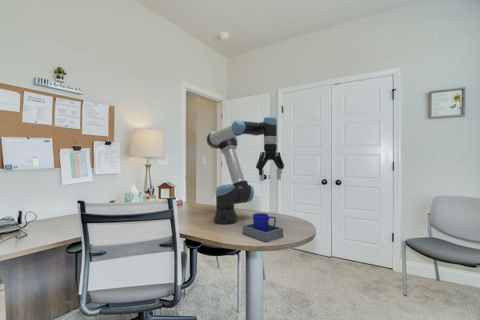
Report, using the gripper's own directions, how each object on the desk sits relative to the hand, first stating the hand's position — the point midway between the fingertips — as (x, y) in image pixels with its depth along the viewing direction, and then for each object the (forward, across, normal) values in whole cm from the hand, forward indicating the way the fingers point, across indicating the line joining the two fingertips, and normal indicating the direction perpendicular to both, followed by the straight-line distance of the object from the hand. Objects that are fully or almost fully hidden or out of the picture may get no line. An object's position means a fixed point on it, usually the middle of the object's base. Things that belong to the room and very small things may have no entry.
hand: (270, 180), depth 143 cm
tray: (+28, -14, -8) cm, 32 cm away
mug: (+27, -13, -8) cm, 31 cm away
